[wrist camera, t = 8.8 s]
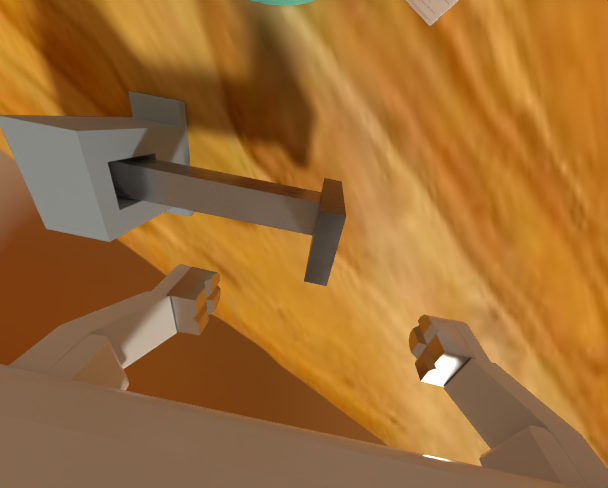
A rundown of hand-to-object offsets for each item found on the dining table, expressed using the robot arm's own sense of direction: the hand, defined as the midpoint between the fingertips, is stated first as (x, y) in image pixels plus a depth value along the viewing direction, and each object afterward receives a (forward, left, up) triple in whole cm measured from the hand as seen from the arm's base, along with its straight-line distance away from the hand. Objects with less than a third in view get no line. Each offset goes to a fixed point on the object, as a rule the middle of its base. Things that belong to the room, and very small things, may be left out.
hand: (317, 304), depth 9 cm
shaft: (0, -9, -13) cm, 16 cm away
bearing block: (0, -18, -18) cm, 25 cm away
